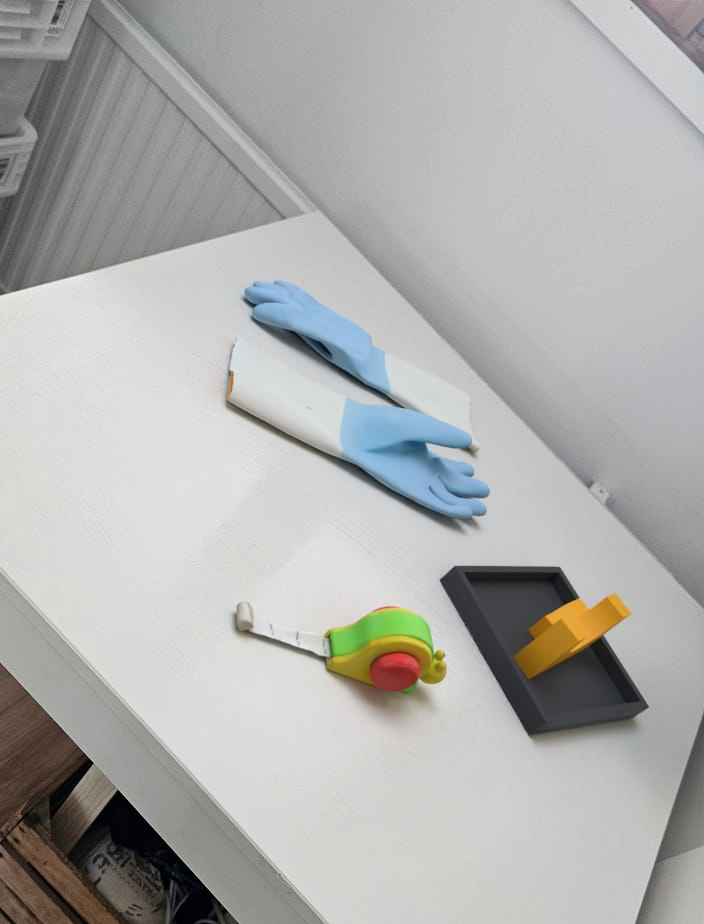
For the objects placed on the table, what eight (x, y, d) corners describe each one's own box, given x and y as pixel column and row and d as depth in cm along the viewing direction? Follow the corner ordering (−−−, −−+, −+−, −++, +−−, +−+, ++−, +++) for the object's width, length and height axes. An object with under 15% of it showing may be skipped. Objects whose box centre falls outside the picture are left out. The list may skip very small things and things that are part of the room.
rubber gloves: (241, 265, 118) (271, 218, 114) (467, 400, 128) (502, 361, 124) (222, 404, 99) (257, 355, 95) (487, 548, 110) (530, 509, 106)
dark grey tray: (544, 579, 112) (560, 566, 111) (632, 718, 105) (649, 707, 104) (439, 579, 101) (454, 565, 100) (528, 735, 94) (546, 722, 93)
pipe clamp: (557, 616, 107) (603, 579, 103) (583, 649, 106) (631, 613, 102) (500, 642, 99) (548, 603, 95) (529, 679, 98) (578, 641, 94)
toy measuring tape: (430, 719, 88) (481, 678, 84) (232, 649, 80) (278, 599, 76) (420, 661, 92) (468, 618, 88) (231, 588, 84) (274, 538, 80)
